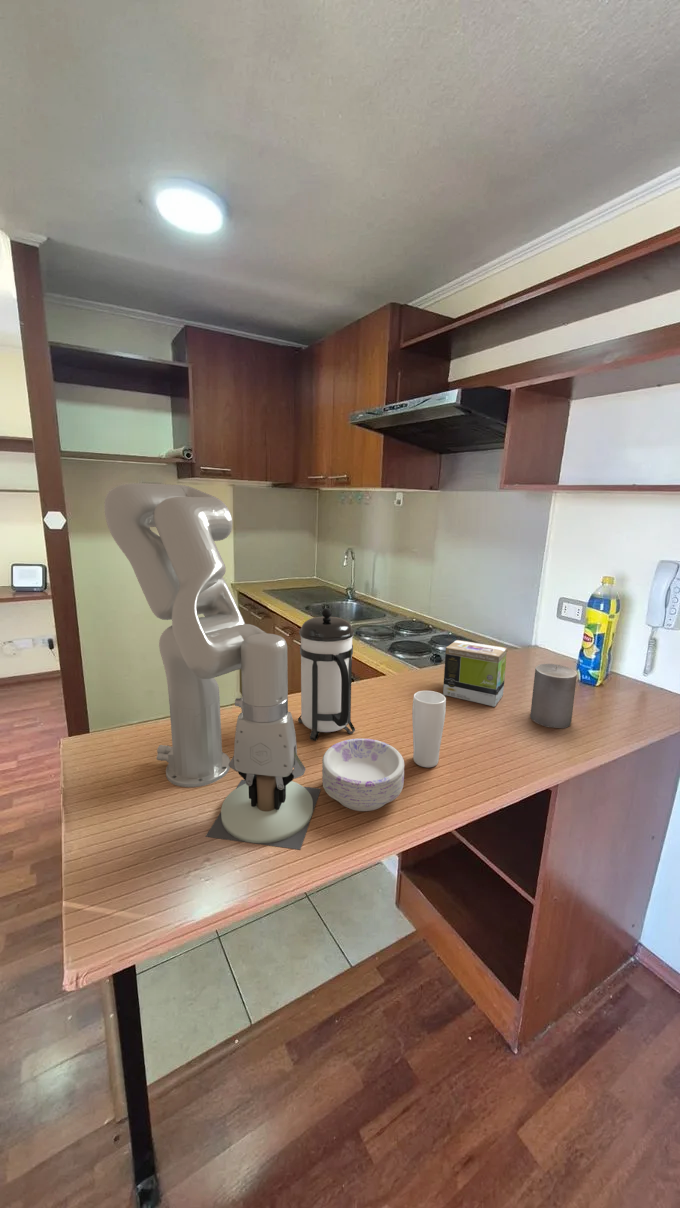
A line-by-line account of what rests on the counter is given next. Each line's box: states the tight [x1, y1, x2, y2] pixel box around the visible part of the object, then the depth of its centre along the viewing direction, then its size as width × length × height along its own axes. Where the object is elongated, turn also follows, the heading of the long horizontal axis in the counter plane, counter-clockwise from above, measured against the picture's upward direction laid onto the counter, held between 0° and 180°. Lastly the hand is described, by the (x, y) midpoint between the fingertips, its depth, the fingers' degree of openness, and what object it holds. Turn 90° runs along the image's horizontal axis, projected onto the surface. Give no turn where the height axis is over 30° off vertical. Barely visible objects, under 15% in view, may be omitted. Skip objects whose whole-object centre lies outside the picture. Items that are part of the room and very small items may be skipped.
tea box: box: [442, 639, 508, 708], centre depth 131 cm, size 15×10×15 cm, turn 58°
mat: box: [205, 779, 322, 851], centre depth 82 cm, size 16×16×1 cm
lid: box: [220, 775, 314, 844], centre depth 81 cm, size 16×16×7 cm
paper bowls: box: [321, 738, 405, 812], centre depth 86 cm, size 15×15×8 cm
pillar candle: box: [529, 663, 578, 729], centre depth 117 cm, size 10×10×15 cm
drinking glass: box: [411, 690, 447, 768], centre depth 97 cm, size 7×7×15 cm
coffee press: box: [297, 608, 356, 742], centre depth 108 cm, size 17×16×30 cm
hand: (267, 802), depth 81 cm, fingers closed on lid, 3 cm apart
